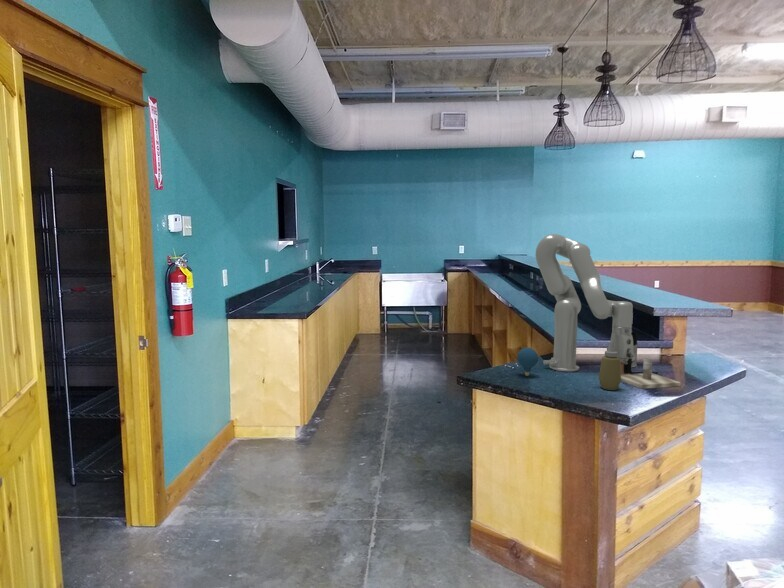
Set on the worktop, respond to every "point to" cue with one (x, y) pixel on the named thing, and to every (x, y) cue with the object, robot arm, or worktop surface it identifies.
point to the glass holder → (633, 349)
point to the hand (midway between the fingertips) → (619, 370)
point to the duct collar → (622, 368)
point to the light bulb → (527, 359)
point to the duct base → (648, 383)
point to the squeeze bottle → (610, 369)
